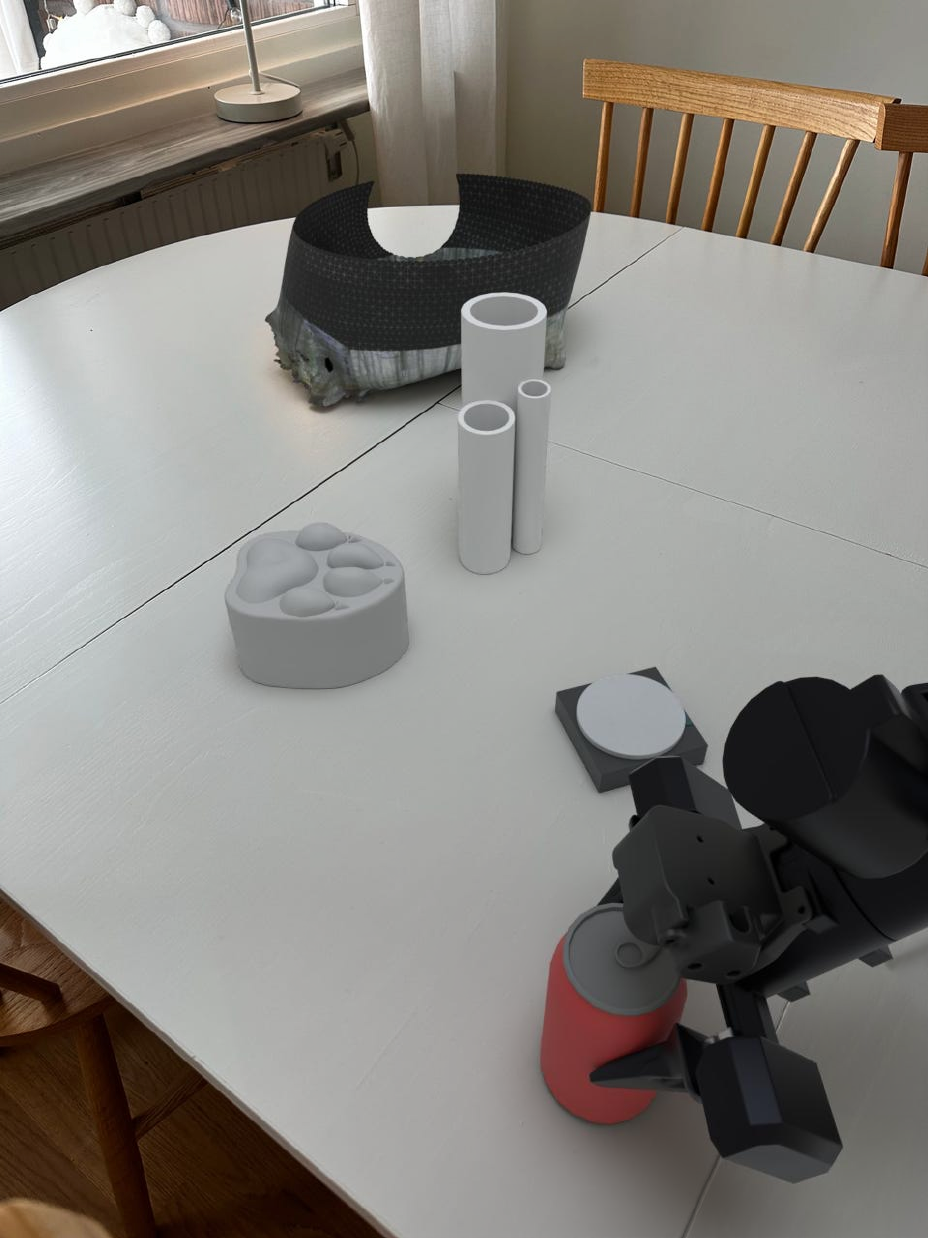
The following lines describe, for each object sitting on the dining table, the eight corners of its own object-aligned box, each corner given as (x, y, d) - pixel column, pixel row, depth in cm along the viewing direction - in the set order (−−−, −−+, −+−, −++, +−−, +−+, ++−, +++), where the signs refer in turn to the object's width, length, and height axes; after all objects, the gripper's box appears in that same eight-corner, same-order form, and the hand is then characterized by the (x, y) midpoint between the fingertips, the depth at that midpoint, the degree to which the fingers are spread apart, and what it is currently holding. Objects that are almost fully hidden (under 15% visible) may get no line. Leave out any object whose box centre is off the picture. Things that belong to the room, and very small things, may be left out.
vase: (463, 495, 92) (461, 291, 78) (540, 497, 92) (551, 292, 78) (458, 573, 84) (455, 360, 70) (542, 575, 83) (556, 362, 70)
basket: (296, 297, 123) (279, 162, 112) (574, 296, 123) (584, 161, 112) (260, 416, 103) (234, 264, 92) (594, 415, 102) (608, 263, 91)
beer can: (683, 1099, 52) (723, 993, 44) (572, 1149, 50) (591, 1048, 42) (624, 989, 56) (649, 874, 48) (520, 1031, 55) (528, 919, 47)
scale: (652, 684, 74) (656, 661, 72) (703, 763, 68) (709, 740, 67) (554, 710, 72) (556, 686, 71) (599, 793, 67) (602, 770, 65)
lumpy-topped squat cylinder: (258, 596, 82) (241, 512, 76) (413, 598, 81) (408, 515, 75) (232, 687, 74) (211, 601, 68) (403, 690, 74) (397, 605, 68)
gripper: (698, 634, 44) (458, 795, 52) (836, 1044, 31) (484, 1185, 38) (826, 738, 50) (594, 870, 57) (990, 1124, 36) (659, 1233, 44)
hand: (583, 1010), depth 49 cm, fingers closed on beer can, 6 cm apart
